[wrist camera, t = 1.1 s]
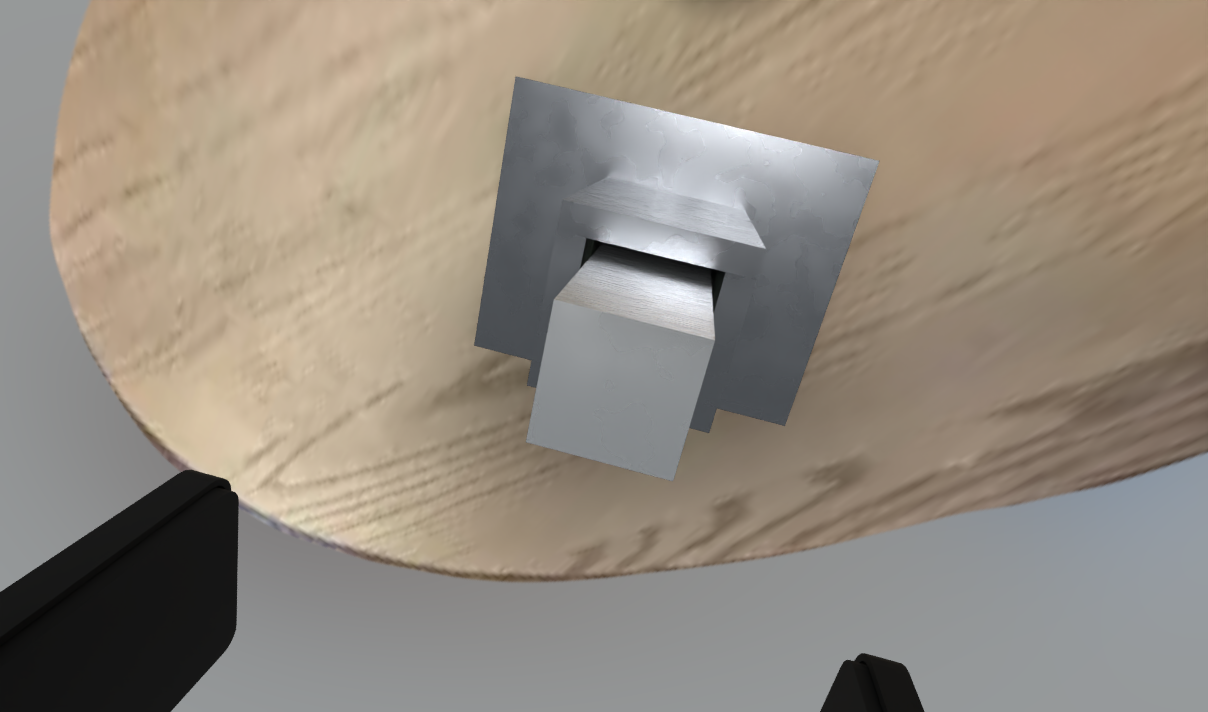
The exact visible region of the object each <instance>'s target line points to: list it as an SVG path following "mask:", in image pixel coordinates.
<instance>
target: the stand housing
mask: <svg viewBox="0 0 1208 712" xmlns="http://www.w3.org/2000/svg"><path fill="white" fill-rule="evenodd" d="M878 164H879V161H878V160H874V159H869V158H865V157H861V156H856V155H852V154H848V153H843V152H839V151H835V150H830V149H826V148H822V147H818V146H813V145H809V144H805V143H800V142H796V141H792V140H787V139H783V138H779V137H775V136H770V135H766V134H762V133H757V132H753V131H749V130H744V129H740V128H736V127H731V126H727V125H723V124H719V123H714V122H710V121H706V120H701V119H697V118H693V117H688V116H684V115H680V114H675V113H671V112H667V111H663V110H658V109H654V108H650V107H645V106H641V105H637V104H632V103H628V102H624V101H619V100H615V99H611V98H607V97H602V96H598V95H594V94H589V93H585V92H581V91H576V90H572V89H568V88H564V87H559V86H555V85H551V84H546V83H542V82H538V81H533V80H529V79H525V78H520V77H516V78H515V84H514V91H513V97H512V104H511V110H510V117H509V123H508V130H507V136H506V143H505V149H504V156H503V162H502V169H501V175H500V182H499V188H498V195H497V201H496V208H495V214H494V221H493V227H492V234H491V240H490V247H489V253H488V259H487V266H486V272H485V279H484V285H483V292H482V298H481V305H480V311H479V318H478V324H477V331H476V337H475V344H474V346H478V347H482V348H486V349H490V350H494V351H498V352H501V353H505V354H509V355H513V356H517V357H521V358H525V359H528V360H532V361H531V367H530V372H529V377H528V382H527V386H531V387H535V388H537V383H538V378H539V372H540V367H541V362H542V357H543V352H544V347H545V342H546V337H547V332H548V327H549V322H550V316H551V311H552V306H553V301H554V299H555V298H556V296H557V295H558V294H559V293H560V292H561V291H562V290H563V288H564V287H565V286H566V285H567V284H568V283H569V281H570V280H571V279H572V278H573V277H574V276H575V275H576V273H577V272H578V271H579V270H580V269H581V268H582V266H583V265H584V264H585V263H586V262H587V261H588V260H589V258H590V257H591V256H592V255H593V254H594V253H595V252H596V250H597V249H598V248H599V247H600V246H601V245H602V243H603V242H605V243H610V244H614V245H618V246H622V247H626V248H630V249H634V250H638V251H642V252H646V253H650V254H654V255H658V256H662V257H666V258H670V259H675V260H679V261H683V262H687V263H691V264H695V265H699V266H703V267H707V268H710V273H711V288H712V302H713V317H714V332H715V342H714V345H713V349H712V352H711V356H710V359H709V362H708V366H707V369H706V372H705V376H704V379H703V382H702V386H701V389H700V393H699V396H698V399H697V403H696V406H695V409H694V413H693V416H692V419H691V423H690V426H689V428H692V429H695V430H699V431H703V432H707V433H709V431H710V428H711V425H712V422H713V419H714V415H715V412H716V409H717V408H718V409H722V410H725V411H729V412H733V413H737V414H741V415H745V416H749V417H753V418H756V419H760V420H764V421H768V422H772V423H776V424H780V425H783V426H785V424H786V421H787V419H788V416H789V413H790V410H791V407H792V405H793V402H794V399H795V396H796V393H797V391H798V388H799V385H800V382H801V379H802V377H803V374H804V371H805V368H806V365H807V363H808V360H809V357H810V354H811V351H812V349H813V346H814V343H815V340H816V337H817V335H818V332H819V329H820V326H821V323H822V321H823V318H824V315H825V312H826V309H827V307H828V304H829V301H830V298H831V295H832V293H833V290H834V287H835V284H836V281H837V279H838V276H839V273H840V270H841V267H842V265H843V262H844V259H845V256H846V253H847V251H848V248H849V245H850V242H851V239H852V237H853V234H854V231H855V228H856V225H857V223H858V220H859V217H860V214H861V211H862V209H863V206H864V203H865V200H866V197H867V195H868V192H869V189H870V186H871V183H872V181H873V178H874V175H875V172H876V169H877V167H878Z"/></svg>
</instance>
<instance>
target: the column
mask: <svg viewBox="0 0 1208 712" xmlns="http://www.w3.org/2000/svg"><path fill="white" fill-rule="evenodd" d="M714 342H715V332H714V317H713V302H712V288H711V273H710V268H707V267H703V266H699V265H695V264H691V263H687V262H683V261H679V260H675V259H670V258H666V257H662V256H658V255H654V254H650V253H646V252H642V251H638V250H634V249H630V248H626V247H622V246H618V245H614V244H610V243H605V242H603V243H602V245H601V246H600V247H599V248H598V249H597V250H596V252H595V253H594V254H593V255H592V256H591V257H590V258H589V260H588V261H587V262H586V263H585V264H584V265H583V266H582V268H581V269H580V270H579V271H578V272H577V273H576V275H575V276H574V277H573V278H572V279H571V280H570V281H569V283H568V284H567V285H566V286H565V287H564V288H563V290H562V291H561V292H560V293H559V294H558V295H557V296H556V298H555V299H554V301H553V306H552V311H551V316H550V322H549V327H548V332H547V337H546V342H545V347H544V352H543V357H542V362H541V367H540V372H539V378H538V383H537V388H536V393H535V398H534V403H533V408H532V413H531V418H530V423H529V428H528V434H527V439H526V442H527V443H531V444H535V445H539V446H542V447H546V448H550V449H554V450H557V451H561V452H565V453H569V454H572V455H576V456H580V457H584V458H587V459H591V460H595V461H599V462H602V463H606V464H610V465H614V466H617V467H621V468H625V469H629V470H632V471H636V472H640V473H644V474H647V475H651V476H655V477H659V478H662V479H666V480H670V481H673V480H674V477H675V473H676V470H677V467H678V463H679V460H680V456H681V453H682V450H683V446H684V443H685V440H686V436H687V433H688V430H689V426H690V423H691V419H692V416H693V413H694V409H695V406H696V403H697V399H698V396H699V393H700V389H701V386H702V382H703V379H704V376H705V372H706V369H707V366H708V362H709V359H710V356H711V352H712V349H713V345H714Z"/></svg>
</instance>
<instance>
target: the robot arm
mask: <svg viewBox="0 0 1208 712" xmlns="http://www.w3.org/2000/svg"><path fill="white" fill-rule="evenodd" d="M238 504H239V501H238V495H237V494H236V493H235V492H233V491H231V485H230V483H229V481H228V480H226V479H223V478H220V477H216V476H212V475H209V474H205V473H201V472H198V471H194V470H185V471H183V472H181V473H179V474H177V475H176V476H174V477H173V478H171V479H170V480H168V481H167V482H165V483H164V484H163V485H161V486H159V487H158V488H156V489H155V490H153V491H152V492H150V493H149V494H147V495H146V496H144V497H143V498H141V499H140V500H138V501H137V502H135V503H134V504H132V505H131V506H129V507H128V508H126V509H125V510H123V511H122V512H120V513H119V514H117V515H116V516H114V517H113V518H111V519H110V520H108V521H107V522H105V523H104V524H102V525H101V526H99V527H98V528H96V529H94V530H93V531H92V532H90V533H88V534H87V535H85V536H84V537H82V538H81V539H79V540H78V541H76V542H75V543H73V544H72V545H70V546H69V547H67V548H66V549H64V550H63V551H61V552H60V553H59V554H57V555H55V556H54V557H52V558H51V559H49V560H48V561H46V562H45V563H43V564H42V565H40V566H39V567H37V568H36V569H34V570H33V571H31V572H30V573H28V574H27V575H25V576H24V577H22V578H21V579H19V580H18V581H16V582H15V583H13V584H12V585H10V586H9V587H7V588H6V589H4V590H3V591H1V592H0V712H171V711H172V710H173V708H174V707H175V706H176V705H177V704H178V703H179V702H180V701H181V699H182V698H183V697H184V696H185V695H186V694H187V693H188V692H189V691H190V690H191V688H192V687H193V686H194V685H195V684H196V682H198V681H199V680H200V678H201V677H202V676H203V675H204V674H205V673H206V672H207V671H208V669H210V667H211V666H212V665H213V664H214V663H215V662H216V661H217V660H218V659H219V657H220V656H221V655H222V654H223V653H224V652H225V650H226V649H227V648H228V646H229V645H230V643H231V641H232V639H233V637H234V634H235V630H236V621H237V620H236V618H237V617H236V616H237V559H238ZM820 712H924V710H923V707H922V705H921V702H920V699H919V697H918V694H917V692H916V689H915V687H914V685H913V682H912V679H911V677H910V674H909V672H908V670H907V668H906V667H905V666H904V665H903V664H901V663H898V662H894V661H891V660H887V659H883V658H880V657H876V656H872V655H869V654H865V653H864V654H863V653H862V654H860V655H858V656H857V658H856V660H855V661H851V660H846V661H844V662H843V664H842V666H841V668H840V670H839V672H838V674H837V676H836V679H835V681H834V683H833V685H832V687H831V689H830V692H829V694H828V696H827V698H826V700H825V702H824V705H823V707H822V709H821V711H820Z"/></svg>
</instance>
